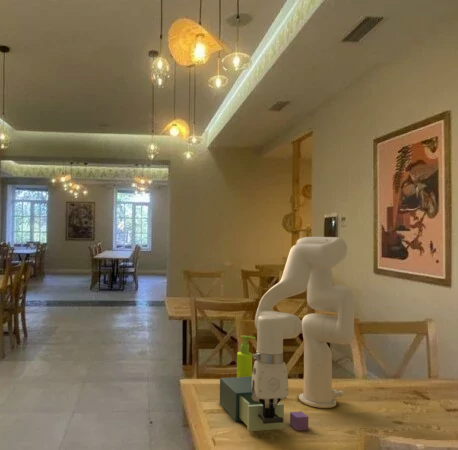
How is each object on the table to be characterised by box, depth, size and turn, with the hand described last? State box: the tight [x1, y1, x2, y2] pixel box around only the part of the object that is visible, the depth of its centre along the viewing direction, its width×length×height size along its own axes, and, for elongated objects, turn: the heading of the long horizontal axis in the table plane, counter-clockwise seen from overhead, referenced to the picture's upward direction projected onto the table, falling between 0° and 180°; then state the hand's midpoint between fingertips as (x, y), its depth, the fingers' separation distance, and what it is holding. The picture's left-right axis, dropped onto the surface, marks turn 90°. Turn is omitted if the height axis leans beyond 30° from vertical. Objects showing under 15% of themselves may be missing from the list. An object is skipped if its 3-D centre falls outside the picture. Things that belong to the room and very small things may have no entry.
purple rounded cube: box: [289, 411, 309, 432], centre depth 129 cm, size 4×4×4 cm
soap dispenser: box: [236, 335, 256, 377], centre depth 164 cm, size 6×7×20 cm
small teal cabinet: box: [219, 376, 253, 423], centre depth 140 cm, size 15×13×9 cm
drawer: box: [238, 395, 285, 432], centre depth 129 cm, size 18×11×7 cm, turn 12°
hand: (268, 419), depth 123 cm, fingers closed
